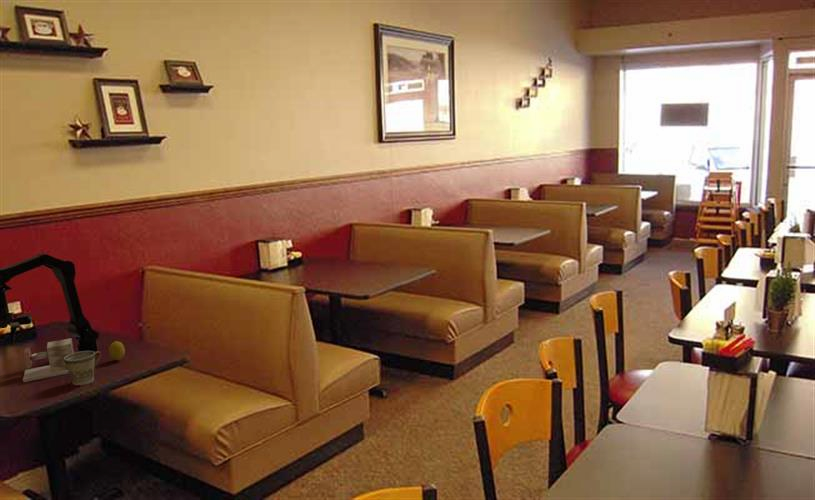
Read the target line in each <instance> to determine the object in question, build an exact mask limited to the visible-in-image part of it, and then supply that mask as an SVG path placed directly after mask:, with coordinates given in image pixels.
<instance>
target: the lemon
mask: <svg viewBox="0 0 815 500" xmlns="http://www.w3.org/2000/svg"><path fill="white" fill-rule="evenodd" d="M125 352H126V349H125V346H124V344H123V343H122V342H121V341H118V340H115V341H113V342H112V343H111V344H109V349H108V353H109V356H110V357H111V359H112V360H116V361H117V362H119V361H120V360H121V359H123V358H124V356H125Z"/></svg>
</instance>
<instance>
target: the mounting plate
mask: <svg viewBox="0 0 815 500" xmlns="http://www.w3.org/2000/svg"><path fill="white" fill-rule="evenodd" d="M67 374H69V372H68V370H62V371H57V372H51V369H50V364H49V365H43V366H38V367H33V368H32V367H31V368H26V369H25V370H24V374H23V378H22V382H23V383H27V382H31V381H36V380H43V379H48V378H52V377H56V376H62V375H67Z"/></svg>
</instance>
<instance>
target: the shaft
mask: <svg viewBox="0 0 815 500" xmlns="http://www.w3.org/2000/svg"><path fill="white" fill-rule="evenodd" d="M23 357H24V362H25V368H26V369H32V366H33V361H37V360H42V359H47V358H48V352H47V350H46V351H41V352H36V353H31V348H30V347H25V348H24V351H23ZM48 359H49V358H48Z"/></svg>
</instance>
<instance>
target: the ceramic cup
mask: <svg viewBox="0 0 815 500" xmlns="http://www.w3.org/2000/svg"><path fill="white" fill-rule="evenodd" d="M97 353H98V354H99V357H98V358H97V359H96V355H98V354H97ZM101 357H102V352H101V351H99V350H98V351H96V352H93V351H81V352H79V351H76V352H74V353H72V354H69V355H67V356H65V357H64V362H65V365H66V368H67V370H68V372H69V373H68V374H69V377H70V379H71V382H72V385H73V386H76V385H77V387H78V385H80V386H85V385H88V384H89V385H90V384H91V383H93V382H94V380H95V366H96V365H97V362H99V360H100V359H101Z"/></svg>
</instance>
